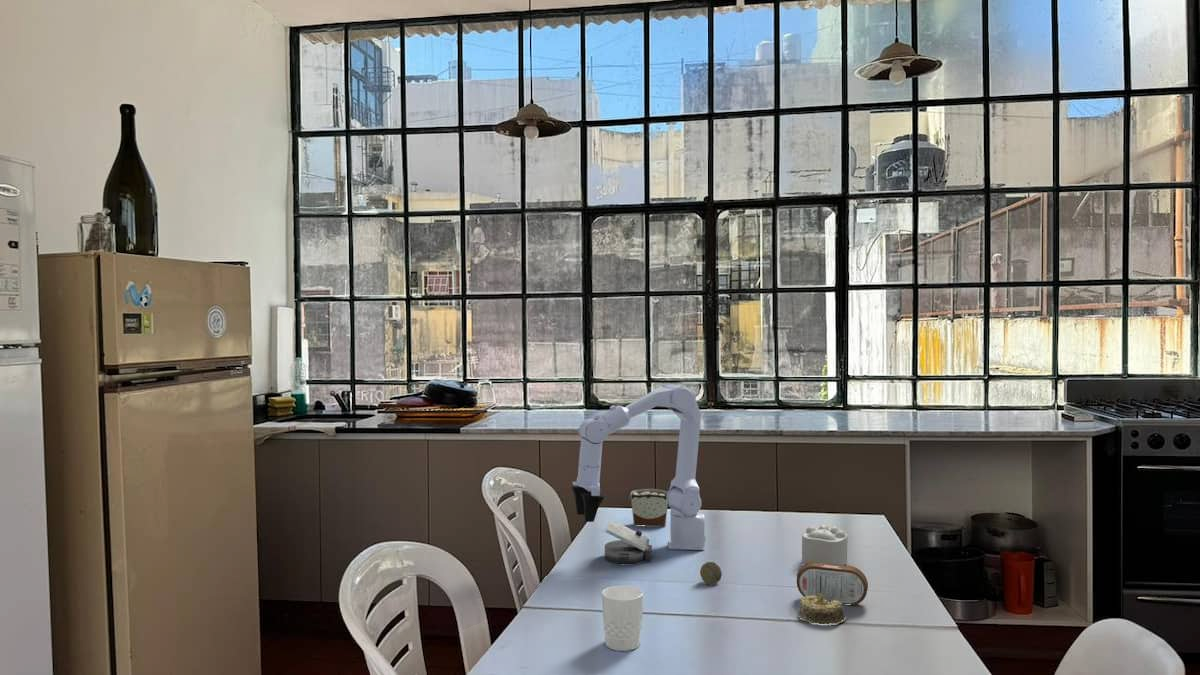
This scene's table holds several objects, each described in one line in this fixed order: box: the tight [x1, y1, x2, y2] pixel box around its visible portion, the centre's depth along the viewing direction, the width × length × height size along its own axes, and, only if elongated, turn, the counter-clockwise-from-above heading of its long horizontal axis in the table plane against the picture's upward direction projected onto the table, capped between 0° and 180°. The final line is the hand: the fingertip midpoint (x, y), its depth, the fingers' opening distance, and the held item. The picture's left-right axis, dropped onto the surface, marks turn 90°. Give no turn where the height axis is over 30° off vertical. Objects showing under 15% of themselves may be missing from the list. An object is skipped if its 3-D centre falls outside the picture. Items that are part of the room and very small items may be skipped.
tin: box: [796, 562, 869, 606], centre depth 172 cm, size 15×3×8 cm, turn 71°
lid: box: [605, 519, 650, 551], centre depth 204 cm, size 12×10×2 cm
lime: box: [699, 561, 723, 586], centre depth 185 cm, size 4×5×5 cm
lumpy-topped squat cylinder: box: [801, 524, 848, 565], centre depth 201 cm, size 10×13×9 cm
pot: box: [604, 539, 653, 565], centre depth 204 cm, size 12×17×3 cm
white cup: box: [601, 585, 644, 652], centre depth 151 cm, size 8×8×10 cm
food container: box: [628, 488, 669, 527], centre depth 237 cm, size 12×6×10 cm, turn 84°
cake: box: [797, 593, 846, 624], centre depth 164 cm, size 10×10×5 cm
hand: (585, 517), depth 204 cm, fingers open, 7 cm apart
